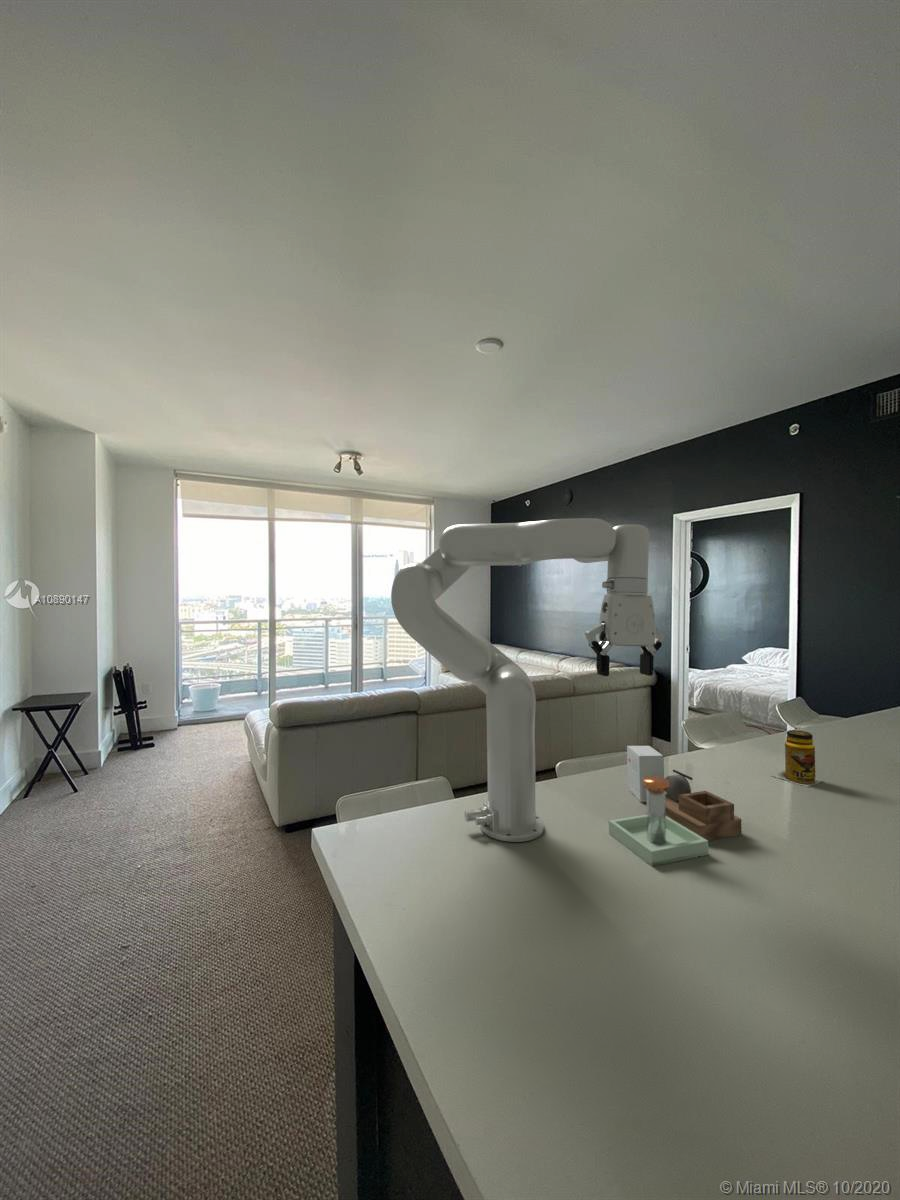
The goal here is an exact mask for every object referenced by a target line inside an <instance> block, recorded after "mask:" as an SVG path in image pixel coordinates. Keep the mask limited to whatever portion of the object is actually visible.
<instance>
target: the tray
mask: <svg viewBox="0 0 900 1200" xmlns="http://www.w3.org/2000/svg"><path fill="white" fill-rule="evenodd" d="M608 835H610V836H611V837H613V838H614V839H615V840H617V841H618V842H619V843H620V844H622V845H623V846H625V847H626V848H627V849H628V850H630V851H631V852H632V853H633V854H635V855H636V856H638V857H639V858H640V859H642V860H643V861H644V862H645V863H647V864H648V865H649V866H651V867H655V866H656V867H657V866H661V865H665V864H669V863H675V862H680V861H686V860H690V859H689V858H691V859H694V858H693V857H696V858H698V857H697V856H701V857H703V856H702V855H706V856H708V855H709V841H708V840H706V839H704V838H703V837H701V836H699V835H697V834H696V833H694V832H692V831H691V830H689V829H687V828H686V827H684V826H682V825H681V824H679V823H677V822H676V821H674V820H672V819H671V818H669V817H667V816H666V844H664V845H656V844H653V843H650V842H649V841H648V840H647V814H642V815H635V816H630V817H629V816H627V817H623V818H617V819H611V820H608ZM707 854H708V855H707ZM685 859H686V860H685Z"/></svg>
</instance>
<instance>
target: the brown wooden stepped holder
mask: <svg viewBox="0 0 900 1200" xmlns="http://www.w3.org/2000/svg"><path fill="white" fill-rule="evenodd" d="M672 772H673V773H675V774H673V775H667V776H666V777H664V778H665V779H667V780H668V781H669V789H668V790H667V791H665V804H666V816H667V817H669V818H671V819H672V820H674V821H676V822H677V823H679V824H681V825H682V826H684V827H686V828H687V829H689V830H691V831H692V832H694V833H696V834H697V835H699V836H701V837H703V838H704V839H706V840H710V841H713V839H715V840H719V839H724V838H728V837H730V838H731V837H735V836H740V835H743V834H742V818H741V817H739V816H736V815H735V803H733V802H731V801H728V800H726V799H724V798H722V797H720V796H718V795H715V794H714V793H711V792H709V791H707V790H701V791H694V792H692V788H691V785H690V783H689V780H691V781H693V777H691V776H689V775H687V774H685V773H683V772H680V771H679V770H676V769H672Z"/></svg>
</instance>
